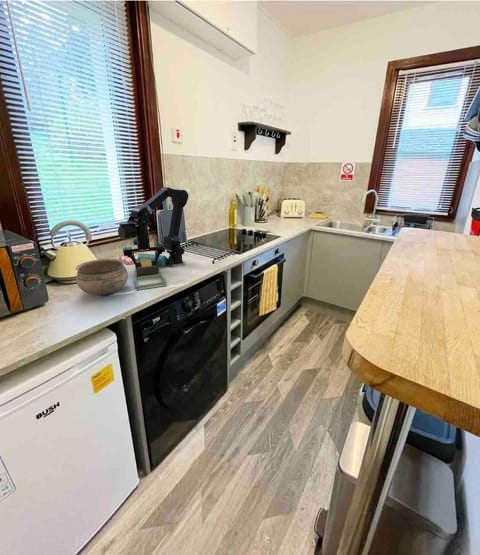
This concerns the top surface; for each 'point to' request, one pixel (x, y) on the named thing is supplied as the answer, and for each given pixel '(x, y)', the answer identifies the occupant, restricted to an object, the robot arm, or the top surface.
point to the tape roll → (145, 262)
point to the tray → (150, 284)
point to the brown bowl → (101, 276)
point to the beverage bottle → (161, 261)
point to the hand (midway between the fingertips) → (146, 266)
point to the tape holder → (146, 269)
